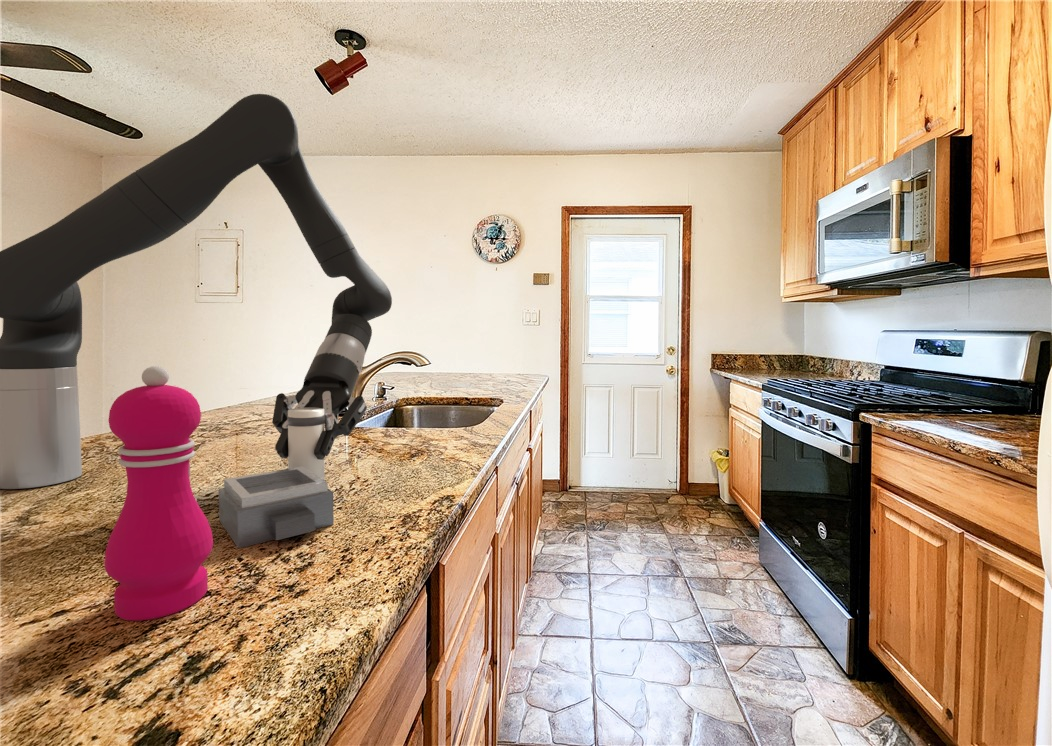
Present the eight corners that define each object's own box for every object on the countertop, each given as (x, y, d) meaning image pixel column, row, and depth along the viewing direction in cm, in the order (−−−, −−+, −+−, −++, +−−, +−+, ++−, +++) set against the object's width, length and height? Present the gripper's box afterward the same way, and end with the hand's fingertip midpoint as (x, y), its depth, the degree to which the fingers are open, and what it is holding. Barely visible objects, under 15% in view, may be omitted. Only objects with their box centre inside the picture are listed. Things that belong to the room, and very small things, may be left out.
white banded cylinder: (283, 482, 69) (282, 408, 68) (317, 476, 72) (317, 406, 72) (294, 491, 65) (293, 413, 65) (329, 484, 69) (329, 410, 68)
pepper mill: (233, 587, 42) (228, 365, 41) (146, 634, 35) (135, 370, 34) (177, 572, 45) (170, 362, 43) (85, 614, 38) (73, 366, 36)
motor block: (219, 520, 57) (218, 478, 57) (305, 502, 64) (305, 465, 64) (244, 556, 48) (242, 506, 48) (341, 530, 55) (340, 487, 55)
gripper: (285, 350, 75) (238, 440, 64) (373, 352, 75) (341, 443, 64) (302, 380, 81) (261, 467, 70) (384, 382, 80) (356, 471, 69)
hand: (300, 455), depth 67 cm, fingers closed on white banded cylinder, 4 cm apart
